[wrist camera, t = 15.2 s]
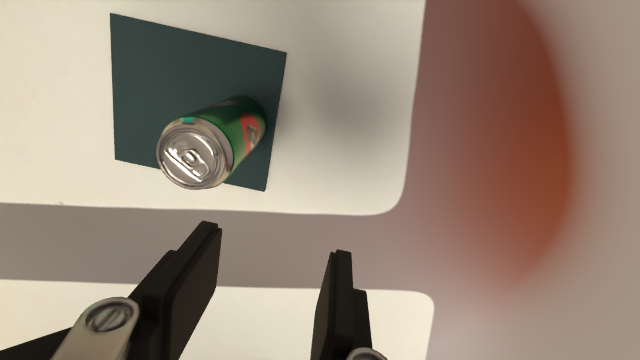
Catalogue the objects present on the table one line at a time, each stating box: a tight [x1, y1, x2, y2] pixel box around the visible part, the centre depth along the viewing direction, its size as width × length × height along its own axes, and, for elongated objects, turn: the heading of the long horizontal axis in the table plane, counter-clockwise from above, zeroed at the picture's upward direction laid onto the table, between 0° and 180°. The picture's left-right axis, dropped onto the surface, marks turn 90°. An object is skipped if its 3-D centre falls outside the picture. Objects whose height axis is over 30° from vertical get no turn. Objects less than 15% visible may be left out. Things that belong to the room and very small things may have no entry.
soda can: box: [156, 96, 268, 190], centre depth 26 cm, size 5×5×12 cm
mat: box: [110, 13, 287, 192], centre depth 32 cm, size 14×16×1 cm
